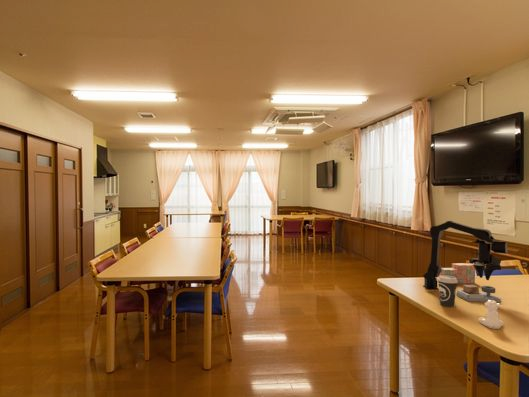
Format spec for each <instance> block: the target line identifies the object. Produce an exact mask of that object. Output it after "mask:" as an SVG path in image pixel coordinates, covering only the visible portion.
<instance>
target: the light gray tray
mask: <svg viewBox="0 0 529 397" xmlns="http://www.w3.org/2000/svg"><path fill="white" fill-rule="evenodd" d="M455 296H457V297H459V298H461V299H463V300H465V301H466V302H487V301H488V300H494V301H496V302H502V298H500V297H497V296H496V295H493V294H492V293H486V292H482V291H481V292H480V291H479V294H467V293H465V292H463V289H456V294H455Z"/></svg>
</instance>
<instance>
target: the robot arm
mask: <svg viewBox="0 0 529 397" xmlns="http://www.w3.org/2000/svg"><path fill="white" fill-rule="evenodd" d="M448 229H453V230H456V231H459V232H462V233H466V234H469V235H472V236H473V237H475V238H477V239H476V240H475V241H474V242H473V243H474V244H478V246H477V248H478V252H476V255H477V256H478V257H476V258H475V257H474V258H473V257H470V258H469V259H468V263H469V264H473V266H474V267H475V272H477V274H478V276H479V278H480V279H483V275H484V277H485V281H489V280H490V278H491V276H492V273H493V272H495V271H501V270H502V265H501V263H502V259H500V258H498V257H495V256H494V255H493V253H495V254H504V255H505V254H508V244H507V242H508V241H507V240H503V241H500V240H496V239H495V237H494V236H493V235H492V231H491V230H490V229H488V228H487V229H486V228H478V227H472V226H469V225H465V224H462V223H459V222H456V221H453V220H447V221H445V222H444V223H441V224H437V225H432V226H431V227H430V228H429V233H430V237H431V249H430V250H431V252H430V262H429V265H428V268H427V269H426V272H425V273H424V274H423V275H422V276H423V278H424V279H423V280H424V284H423V285H422V286H423V287H424V288H426V289H428V290H431V289H432V290H439V287H438V280H437V279H438V277H439V274H440V273H441V272H442V270H441V268H443V266H442V265H441V264H440V259H439V258H440V250H441V249H440V248H441V247H440V246H441V239H442V236H443V234H444V231H446V230H448ZM492 252H493V253H492Z"/></svg>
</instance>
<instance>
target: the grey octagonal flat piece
mask: <svg viewBox="0 0 529 397" xmlns="http://www.w3.org/2000/svg"><path fill="white" fill-rule="evenodd" d="M481 292H482V293H490V294H495V293H496V287H494V286H490V285H482V286H481Z"/></svg>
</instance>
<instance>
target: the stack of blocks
mask: <svg viewBox="0 0 529 397" xmlns="http://www.w3.org/2000/svg"><path fill="white" fill-rule="evenodd" d="M473 265H474V263H473V264H471V263H469V262H467V263H465V262H464V263H463V262H461V263H460V262H459V263H457V262H456V263H452V262H451V267H442V268H441V270H442V272H441V273H440V274H439V275H438V277H439V276H440V275H448V276H453V277H456V279H457V281H458V283H457V284H476V283H475V282H476V269H475V267H474V266H473Z"/></svg>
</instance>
